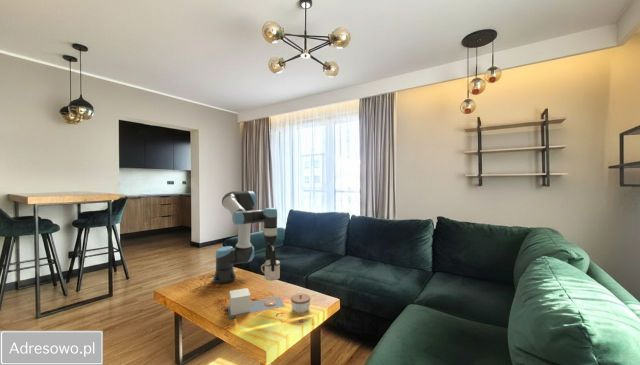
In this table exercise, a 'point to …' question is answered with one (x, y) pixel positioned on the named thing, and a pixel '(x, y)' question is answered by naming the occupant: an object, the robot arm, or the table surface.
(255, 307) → the board
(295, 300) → the lidded jar
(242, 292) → the block
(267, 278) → the teacup with lid
